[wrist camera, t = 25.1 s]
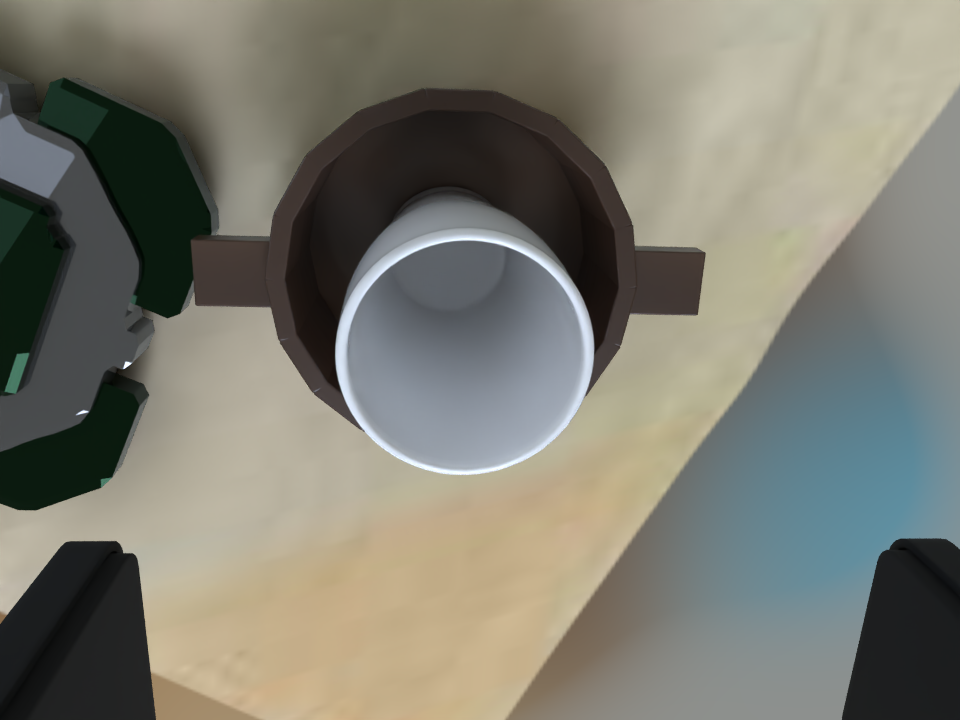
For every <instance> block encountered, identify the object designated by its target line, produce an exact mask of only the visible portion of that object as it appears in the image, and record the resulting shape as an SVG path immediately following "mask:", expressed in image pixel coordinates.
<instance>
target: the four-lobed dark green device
mask: <svg viewBox="0 0 960 720" xmlns="http://www.w3.org/2000/svg"><path fill="white" fill-rule="evenodd" d="M218 229H219V215H218V208H217V206H216V204H215V201H214V199H213V197H212V195H211V193H210V190H209V188H208V186H207V184H206V182H205V179H204V177H203V175H202V173H201V171H200V168H199V166H198V164H197V162H196V159H195V157H194V155H193V153H192V151H191V148H190V146H189V144H188V142H187V139H186V137H185V135H184V134H183V133H182V132H181V131H180V130H179V129H178V128H177V127H176V126H175V125H174V124H173V123H172V122H171V121H168V120H166V119H164V118H162V117H160V116H158V115H156V114H153V113H151V112H149V111H147V110H145V109H143V108H141V107H138V106H136V105H134V104H132V103H130V102H128V101H126V100H123V99H121V98H119V97H117V96H115V95H113V94H111V93H109V92H106V91H104V90H102V89H100V88H98V87H96V86H94V85H91V84H89V83H87V82H85V81H83V80H81V79H79V78H62V79H59V80H56V81H53V82H51V83H50V85H49V88H48V91H47V94H46V97H45V101H44V104H43V107H42V110H41V113H40V112H39V111H38V107H37V102H36V93H35V89H34V84H32V83H30V82H28V81H26V80H24V79H22V78H19V77H17V76H15V75H13V74H11V73H9V72H6V71H4V70H2V69H0V504H3V505H6V506H9V507H12V508H14V509H17V510H38V509H41V508H44V507H47V506H50V505H53V504H55V503H58V502H61V501H64V500H67V499H70V498H73V497H76V496H79V495H81V494H84V493H87V492H90V491H93V490H96V489H99V488H101V487H102V486H103V485H105V484H106V483H107V482H108V481H109V480H110V479H111V478H112V477H113V476H114V475H115V473H116V472H117V471H118V469H119V468H120V467H121V466H122V464H123V461H124V459H125V456H126V454H127V451H128V449H129V446H130V443H131V441H132V438H133V436H134V433H135V431H136V428H137V425H138V423H139V420H140V418H141V415H142V413H143V410H144V407H145V405H146V402H147V400H148V397H149V394H148V392H147V390H146V388H145V386H144V384H142V383H139V382H137V381H134V380H132V379H129V378H127V377H124V376H122V375H119V374H117V373H116V371H117V368H120V369H122V370H123V369H125V368H126V367H127V366H129V365H130V364H131V363H133V362H134V361H135V360H136V359H137V358H138V357H139V356H140V355H141V354H142V353H143V352H144V351H145V350H146V349H147V348H148V347H149V344H150V342H151V339H152V337H153V334H154V331H155V330H154V325H153V320H151V319H148V318H146V317H144V316H143V313H142V308H144V309H147V310H149V311H151V312H154V313H156V314H159V315H161V316H163V317H166V318H170V317H172V316H175V315H178V314H180V313H181V312H183V311H184V310H185V309H186V308H187V307H188V306H189V303H190V301H191V298H192V295H193V293H194V278H193V265H192V252H191V239H193V238H194V237H196V236H197V235H216V234H217V231H218ZM141 307H142V308H141Z"/></svg>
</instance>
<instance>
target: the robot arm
mask: <svg viewBox="0 0 960 720" xmlns="http://www.w3.org/2000/svg"><path fill="white" fill-rule="evenodd" d="M0 720H156V716H155V707H154V698H153V689H152V680H151V672H150V663H149V654H148V645H147V636H146V627H145V618H144V610H143V601H142V592H141V583H140V574H139V565H138V560H137V558H136V555H134V554H133V553H123V550H122V547H121V545H120V544H119V543H118V542H117V541H70V542H65V543H64V544H63V545H62V546H61V547H60V548H59V550H58V551H57V552H56V553H55V555H54V556H53V557H52V559H51V560H50V561H49V562H48V564H47V565H46V566H45V568H44V569H43V570H42V571H41V573H40V574H39V575H38V576H37V578H36V579H35V580H34V582H33V583H32V584H31V585H30V587H29V588H28V589H27V591H26V592H25V593H24V594H23V596H22V597H21V598H20V599H19V601H18V602H17V603H16V605H15V606H14V607H13V608H12V610H11V611H10V612H9V613H8V615H7V616H6V617H5V619H4V620H3V621H2V623H1V624H0ZM842 720H960V549H958V547H956V546H955V545H954V544H953V543H951V542H950V541H948V540H946V539H899V540H896V541H895V542H894V543H893V544H892V545H891V547H890V549H889V550H886V551H884V552H882V553H881V555H880V556H879V559H878V561H877V565H876V570H875V574H874V579H873V583H872V587H871V592H870V596H869V601H868V605H867V609H866V614H865V618H864V623H863V627H862V631H861V636H860V641H859V644H858V649H857V653H856V658H855V662H854V667H853V671H852V675H851V680H850V684H849V688H848V693H847V698H846V702H845V706H844V710H843V716H842Z"/></svg>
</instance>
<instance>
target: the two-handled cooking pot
mask: <svg viewBox="0 0 960 720" xmlns="http://www.w3.org/2000/svg"><path fill="white" fill-rule="evenodd" d="M443 186H453V187H460V188H464V189H468V190H471V191H473V192H475V193H477V194H479V195H481V196H482V197H484V198H486V199H487V200H488V201H489V202H491V203H492V204H493V205H494V206H495V207H497V208H499V209H501V210H503V211H504V212H506V213H508V214H510V215H512V216H514V217H515V218H517V219H518V220H520V221H521V222H523V223H524V224H526V225H527V226H528V227H529V228H531V229H532V230H533V231H534V232H535V233H536V234H538V235H539V236H540V237H541V238H542V239H543V240H544V241H545V242H546V243H547V244H548V246H549V247H550V248H551V249H552V250H553V252H554V253H555V254H556V255H557V257H558V258H559V259H560V261H561V262H562V264H563V265H564V267H565V268H566V270H567V271H568V273H569V274H570V276H571V278H572V280H573V282H574V284H575V285H576V287H577V289H578V290H579V292H580V294H581V296H582V298H583V300H584V303H585V305H586V308H587V310H588V313H589V317H590V320H591V324H592V330H593V336H594V362H593V370H592V375H591V379H590V383H589V386H588V389H587V392H586V394H585V396H586V395H587V394H588V393H589V391H590V390H591V388H592V387H593V386H594V384H595V383H596V381H597V380H598V378H599V377H600V376H601V374H602V373H603V371H604V370H605V368H606V367H607V366H608V364H609V363H610V361H611V360H612V358H613V357H614V356H615V354H616V353H617V351H618V350H619V349H620V345H621V343H622V340H623V336H624V333H625V329H626V326H627V322H628V319H629V315H630V314H647V315H698V308H699V300H700V293H701V285H702V277H703V270H704V262H705V252H703V251H701V250H700V249H698V248H691V247H653V246H635V244H634V231H633V225H632V221H631V219H630V217H629V215H628V212H627V210H626V208H625V206H624V204H623V202H622V199H621V197H620V195H619V193H618V191H617V189H616V186H615V184H614V182H613V180H612V178H611V175H610V173H609V171H608V169H607V167H606V166H605V164H604V163H603V162H602V161H601V160H600V159H599V158H598V157H597V156H596V155H595V154H594V153H593V152H592V151H591V150H590V149H589V148H588V147H587V146H586V145H585V144H584V143H583V142H582V141H581V140H580V139H579V138H578V137H577V136H576V135H575V134H574V133H573V132H572V131H571V130H570V129H569V128H568V127H566V126H565V125H564V124H563V123H562V122H561V121H560V120H559V119H557V118H556V117H554V116H552V115H550V114H547V113H545V112H543V111H540V110H538V109H536V108H533V107H531V106H529V105H527V104H524V103H522V102H520V101H517V100H515V99H513V98H510V97H508V96H506V95H503V94H501V93H499V92H495V91H490V90H469V89H444V88H425V89H424V88H422V89H419V90H416V91H413V92H410V93H407V94H404V95H401V96H398V97H395V98H392V99H390V100H387V101H384V102H381V103H378V104H375V105H372V106H369V107H367V108H364V109H361V110H360V111H358V112H356V113H355V114H354V115H353V116H351V117H350V118H349V119H348V120H347V121H346V122H344V123H343V124H342V125H341V126H340V127H338V128H337V129H336V130H335V131H334V132H332V133H331V134H330V135H329V136H328V137H326V138H325V139H324V140H323V141H322V142H321V143H319V144H318V145H317V146H316V147H315V148H313V149H312V150H311V151H310V152H309V153H307V155H306V156H305V157H304V159H303V161H302V163H301V164H300V166H299V168H298V170H297V172H296V174H295V175H294V177H293V179H292V181H291V183H290V184H289V186H288V188H287V190H286V192H285V194H284V195H283V197H282V199H281V201H280V203H279V204H278V206H277V208H276V210H275V212H274V215H273V219H272V227H271V234H270V237H264V236H226V235H197V236H196V237H194V238H193V239H191V252H192V265H193V278H194V291H195V304H196V305H197V306H231V307H271V310H272V314H273V318H274V323H275V327H276V331H277V336H278V339H279V341H280V344H281V345H282V347H283V348H284V350H285V351H286V353H287V354H288V356H289V357H290V359H291V361H292V362H293V364H294V365H295V367H296V368H297V370H298V371H299V373H300V374H301V376H302V377H303V379H304V380H305V382H306V384H307V385H308V387H309V388H310V390H311V391H312V392H313V393H314V394H315V395H316V396H317V397H318V398H320V399H321V400H322V401H324V402H325V403H326V404H328V405H329V406H330V407H331V408H333V409H334V410H335V411H337V412H338V413H339V414H341V415H342V416H343V417H344V418H346V419H347V420H348V421H350V422H351V423H352V424H354V425H355V426H356V427H358V428H359V429H360V430H363V429H362V427H361V426H360V425H359V424H358V422H357V421H356V419H355V418H354V416H353V415H352V413H351V411H350V409H349V408H348V406H347V404H346V401H345V399H344V397H343V394H342V391H341V388H340V385H339V381H338V376H337V371H336V361H335V344H336V336H337V330H338V325H339V318H340V313H341V309H342V305H343V301H344V297H345V294H346V291H347V288H348V285H349V283H350V280H351V278H352V276H353V273H354V271H355V269H356V267H357V265H358V263H359V262H360V260H361V258H362V257H363V255H364V253H365V252H366V250H367V249H368V248H369V246H370V245H371V244H372V242H373V241H374V240H375V239H376V238H377V237H378V235H379V234H380V233H381V232H382V231H383V230H384V229H385V228H386V227H387V226H388V225H389V224H390V223H391V220H392V219H393V217H394V215H395V214H396V212H397V211H398V210H399V209H400V208H401V206H402V205H403V204H404V203H406V202H407V201H408V200H409V199H410V198H412V197H413V196H415V195H417V194H418V193H421V192H423V191H425V190H428V189H431V188H436V187H443ZM585 396H584V397H585ZM363 431H364V430H363ZM364 432H365V431H364Z"/></svg>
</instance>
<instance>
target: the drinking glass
mask: <svg viewBox="0 0 960 720" xmlns="http://www.w3.org/2000/svg"><path fill="white" fill-rule="evenodd" d="M335 361H336V371H337V376H338V381H339V385H340V388H341V391H342V394H343V397H344V399H345V401H346V404H347V406H348V408H349V409H350V411H351V413H352V415H353V416H354V418H355V419H356V421H357V422H358V424H359V425H360V426H361V427H362V429H363V430H364V431H365V432H366V433H367V434H368V435H369V436H370V437H371V438H372V439H373V440H374V441H375V442H376V443H377V444H378V445H379V446H381V447H382V448H383V449H384V450H386V451H387V452H389V453H390V454H392V455H393V456H395V457H397V458H399V459H400V460H402V461H404V462H406V463H409V464H411V465H413V466H416V467H419V468H422V469H425V470H428V471H433V472H437V473H444V474H452V475H473V474H482V473H488V472H493V471H497V470H501V469H504V468H507V467H510V466H512V465H515V464H517V463H519V462H522V461H523V460H525V459H527V458H529V457H531V456H533V455H534V454H536V453H537V452H539V451H540V450H542V449H543V448H544V447H546V446H547V445H548V444H549V443H551V442H552V441H553V440H554V439H555V438H556V437H557V436H558V435H559V434H560V433H561V432H562V431H563V430H564V429H565V427H566V426H567V425H568V424H569V422H570V421H571V420H572V418H573V417H574V415H575V414H576V412H577V410H578V409H579V407H580V405H581V403H582V401H583V399H584V396H585V394H586V392H587V389H588V386H589V383H590V379H591V375H592V370H593V362H594V336H593V330H592V324H591V320H590V317H589V313H588V310H587V308H586V305H585V303H584V300H583V298H582V296H581V294H580V292H579V290H578V289H577V287H576V285H575V284H574V282H573V280H572V278H571V276H570V274H569V273H568V271H567V270H566V268H565V267H564V265H563V264H562V262H561V261H560V259H559V258H558V257H557V255H556V254H555V253H554V252H553V250H552V249H551V248H550V247H549V246H548V244H547V243H546V242H545V241H544V240H543V239H542V238H541V237H540V236H539V235H538V234H536V233H535V232H534V231H533V230H532V229H531V228H529V227H528V226H527V225H526V224H524V223H523V222H521V221H520V220H518V219H517V218H515V217H514V216H512V215H510V214H508V213H506V212H504V211H503V210H501V209H499V208H497V207H495V206H494V205H493V204H492V203H491V202H489V201H488V200H487V199H486V198H484V197H482V196H481V195H479V194H477V193H475V192H473V191H471V190H468V189H464V188H460V187H453V186H443V187H436V188H431V189H428V190H425V191H423V192H421V193H418V194H417V195H415V196H413V197H412V198H410V199H409V200H408V201H407V202H406V203H404V204H403V205H402V206H401V208H400V209H399V210H398V211H397V212H396V214H395V215H394V217H393V219H392V220H391V223H390V224H389V225H388V226H387V227H386V228H385V229H384V230H383V231H382V232H381V233H380V234H379V235H378V237H377V238H376V239H375V240H374V241H373V242H372V244H371V245H370V246H369V248H368V249H367V250H366V252H365V253H364V255H363V257H362V258H361V260H360V262H359V263H358V265H357V267H356V269H355V271H354V273H353V276H352V278H351V280H350V283H349V285H348V288H347V291H346V294H345V297H344V301H343V305H342V309H341V313H340V318H339V325H338V330H337V336H336V344H335Z"/></svg>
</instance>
